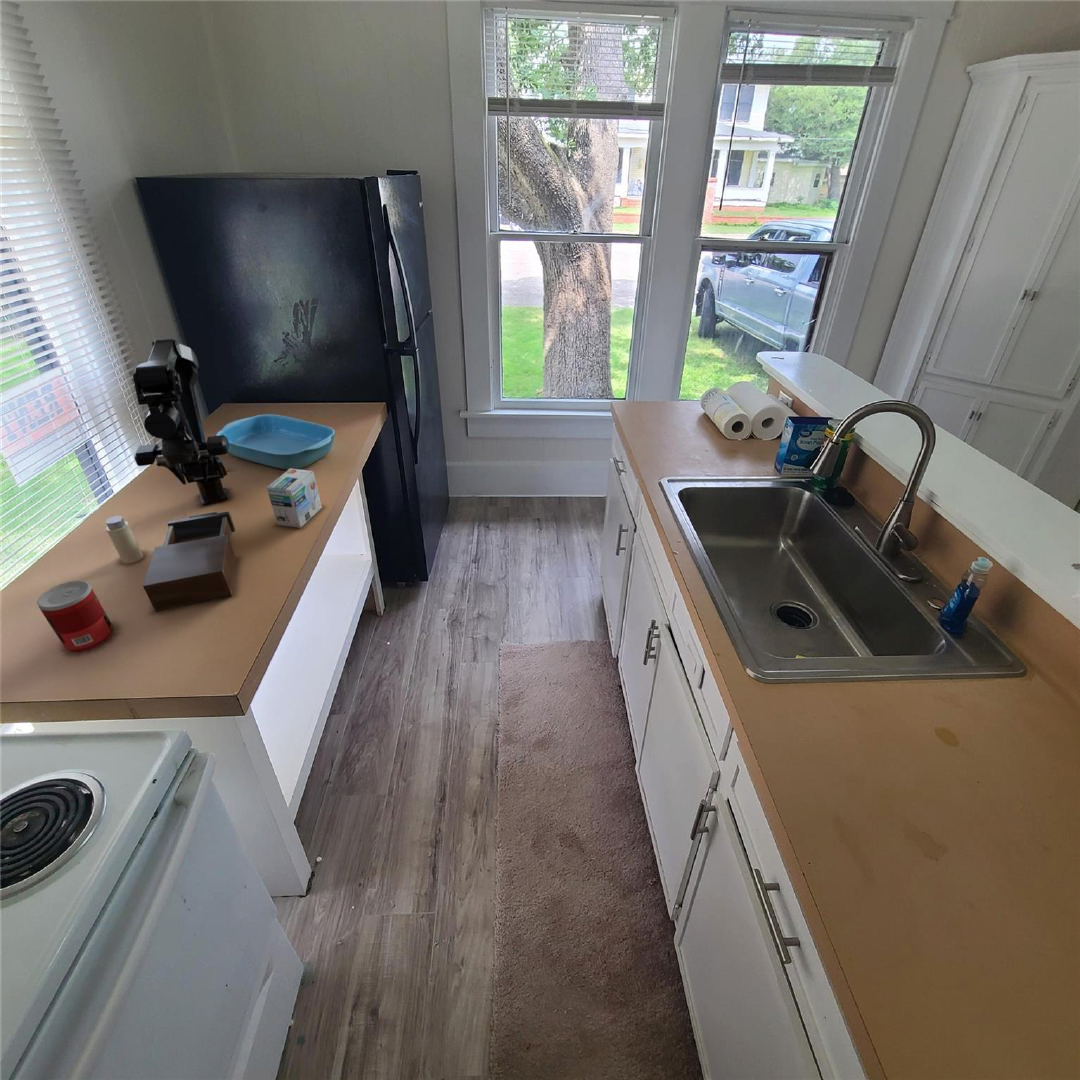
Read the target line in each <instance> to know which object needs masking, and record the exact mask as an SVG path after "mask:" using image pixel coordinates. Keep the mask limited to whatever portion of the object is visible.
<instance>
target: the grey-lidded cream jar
mask: <svg viewBox="0 0 1080 1080" xmlns="http://www.w3.org/2000/svg"><path fill="white" fill-rule="evenodd" d="M105 524H106V527H105V530H106V532H107V534H108V537H109V538H110V541H111V542H112V545H113V547H114V548H115V550H116V552H117V554H118V556H119V559H120V560H121V562H122V563H124V564H133V563H136V562H139V561H140V560H142V559H143V557H144V553H143V551H142V549H141V546H140V545H139V543H138V541H137V538H136V537H135V534H134V532H133V530H132V527H131V526H130V524H129V522H128V521H126V520H124V518H123V516H121V515H115V516H111V517H108V518H107V519H106V520H105Z"/></svg>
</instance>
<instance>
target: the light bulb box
mask: <svg viewBox="0 0 1080 1080" xmlns="http://www.w3.org/2000/svg"><path fill="white" fill-rule="evenodd" d="M314 473H315V472H314V471H313V470H308V469H307V470H305V469H299V470H298V469H289V470H285V472H284V473H282V474H281V475H280V476H279V477H278V478H276V479H275V480H274V481H273V482H272V483H270V484H269V485H268V486H266V490H267V494H268V497H269V500H270V504H271V507H272V510H273V514H274V517H275V520H276V525H277V526H284V527H292V528H299V529H300V528H302V527H303V526H304V525H305V524H306V523H308V521H310V519H311V518H313V517H314V516H315V515H316V514H317V513H318V512H319V511H320V510H322V508H323V507H322V502H321V498H320V494H319V490H318V486H317V482H316V477H315V474H314Z"/></svg>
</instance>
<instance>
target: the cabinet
mask: <svg viewBox="0 0 1080 1080" xmlns="http://www.w3.org/2000/svg"><path fill="white" fill-rule="evenodd" d="M236 561H237V557H236V554H235V552H234V549H233V547H232V543H231V544H230V541H229V538H228V535H222V536H216V537H211V538H205V539H199V540H194V541H188V542H182V543H176V544H171V545H165V546H163V545H160V546H155V547H154V548H153V552H152V555H151V559H150V562H149V565H148V568H147V571H146V574H145V577H144V579H143V580H144V581H143V584H142V588H143V590H144V592H145V594H146V596H147V598H148V601H149V602H150V604H151V606H152V608H153V610H154V612H155V613H157V612H161V611H166V610H172V609H176V608H181V607H187V606H192V605H196V604H201V603H205V602H210V601H215V600H221V599H226V598H230V597H233V590H234V581H235V572H236V565H237V563H236Z"/></svg>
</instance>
